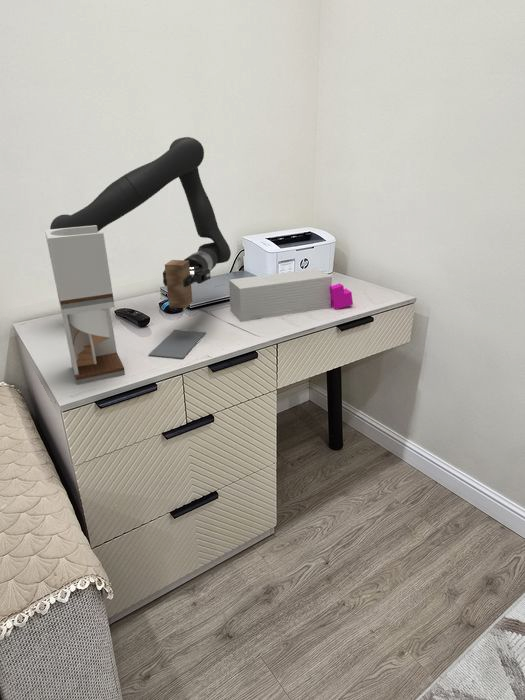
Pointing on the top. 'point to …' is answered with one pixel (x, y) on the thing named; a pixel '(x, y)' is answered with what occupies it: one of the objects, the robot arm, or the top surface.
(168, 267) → the walnut block
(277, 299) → the long grey block
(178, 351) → the rubber mat
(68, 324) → the white open-top tower
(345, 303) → the toy block
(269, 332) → the top surface
